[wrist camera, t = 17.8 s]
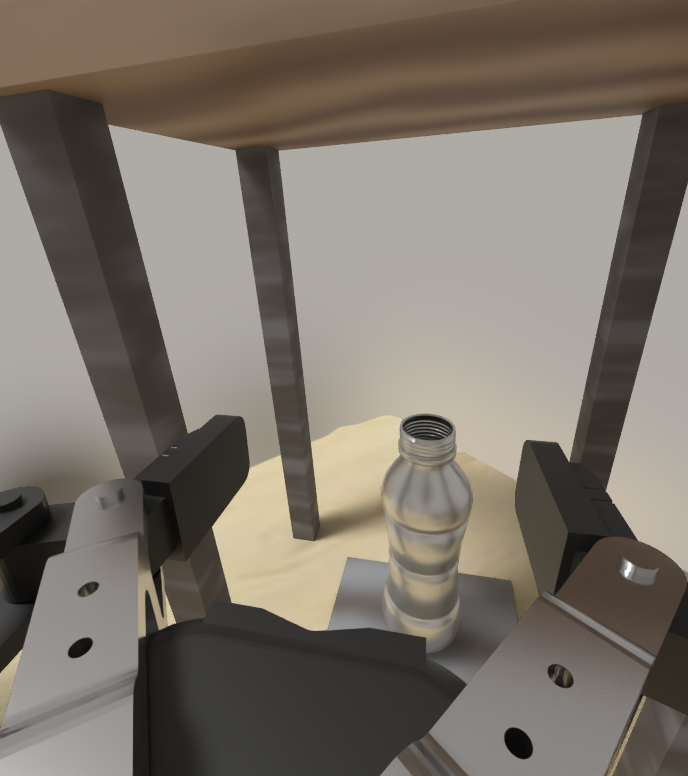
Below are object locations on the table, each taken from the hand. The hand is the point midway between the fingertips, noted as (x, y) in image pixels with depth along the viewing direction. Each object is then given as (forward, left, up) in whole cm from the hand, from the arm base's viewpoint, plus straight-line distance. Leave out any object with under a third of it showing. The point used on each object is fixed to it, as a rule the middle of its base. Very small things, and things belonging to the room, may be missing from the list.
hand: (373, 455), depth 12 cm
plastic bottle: (-4, +13, -27) cm, 31 cm away
